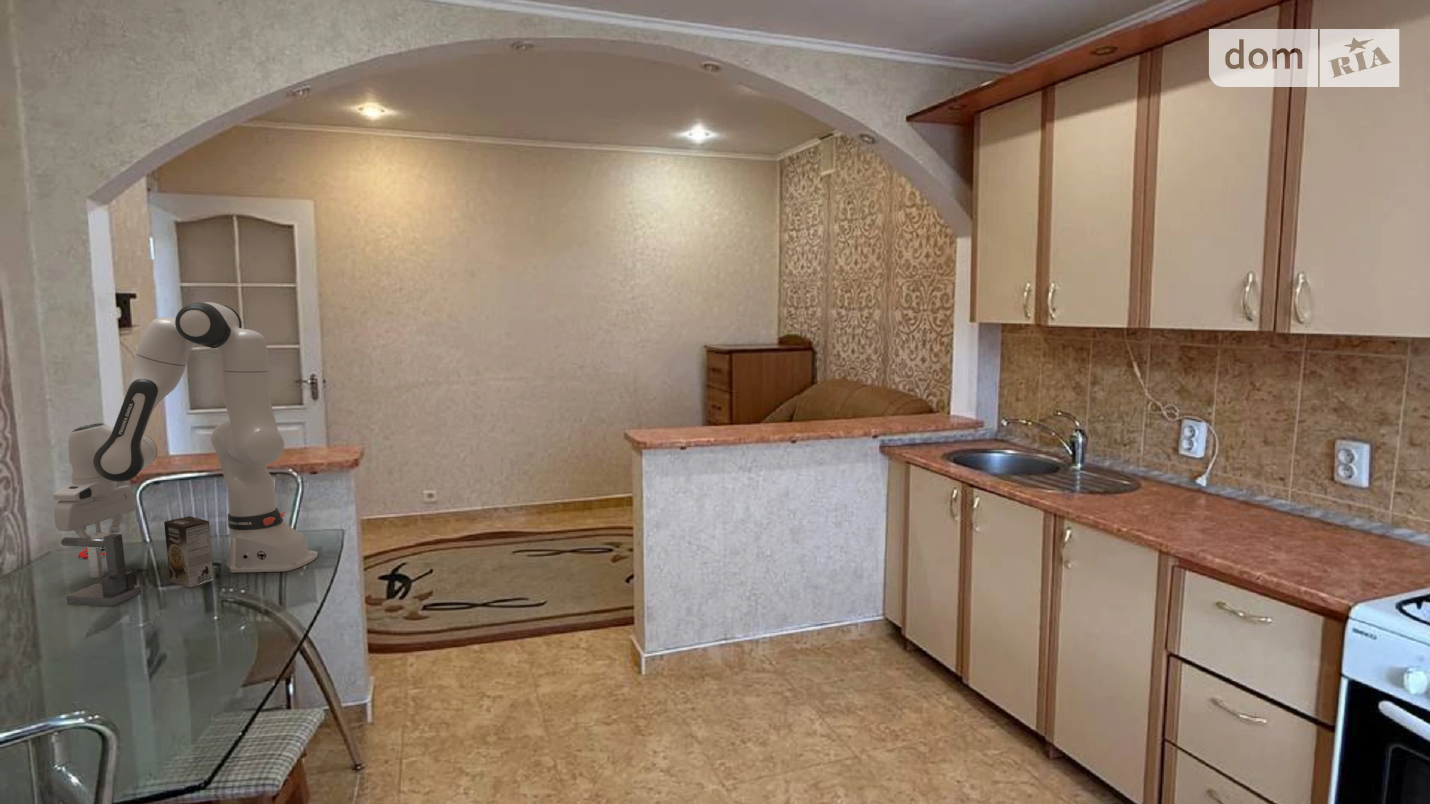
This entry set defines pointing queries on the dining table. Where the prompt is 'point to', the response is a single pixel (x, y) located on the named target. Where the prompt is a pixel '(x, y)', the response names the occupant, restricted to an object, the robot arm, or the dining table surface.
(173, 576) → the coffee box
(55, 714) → the dining table surface
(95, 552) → the beige u-shaped piece
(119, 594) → the grey hook stand
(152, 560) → the dining table surface
